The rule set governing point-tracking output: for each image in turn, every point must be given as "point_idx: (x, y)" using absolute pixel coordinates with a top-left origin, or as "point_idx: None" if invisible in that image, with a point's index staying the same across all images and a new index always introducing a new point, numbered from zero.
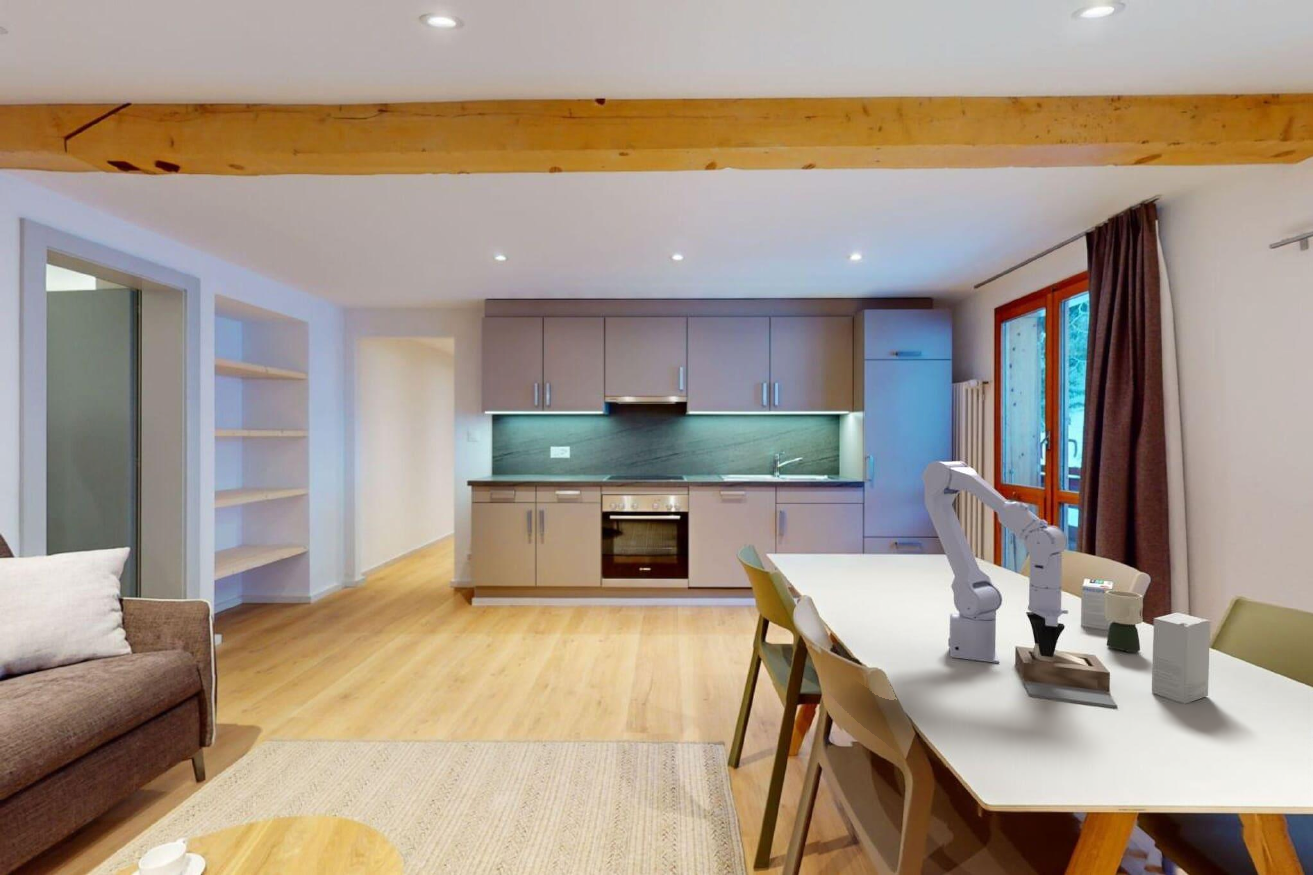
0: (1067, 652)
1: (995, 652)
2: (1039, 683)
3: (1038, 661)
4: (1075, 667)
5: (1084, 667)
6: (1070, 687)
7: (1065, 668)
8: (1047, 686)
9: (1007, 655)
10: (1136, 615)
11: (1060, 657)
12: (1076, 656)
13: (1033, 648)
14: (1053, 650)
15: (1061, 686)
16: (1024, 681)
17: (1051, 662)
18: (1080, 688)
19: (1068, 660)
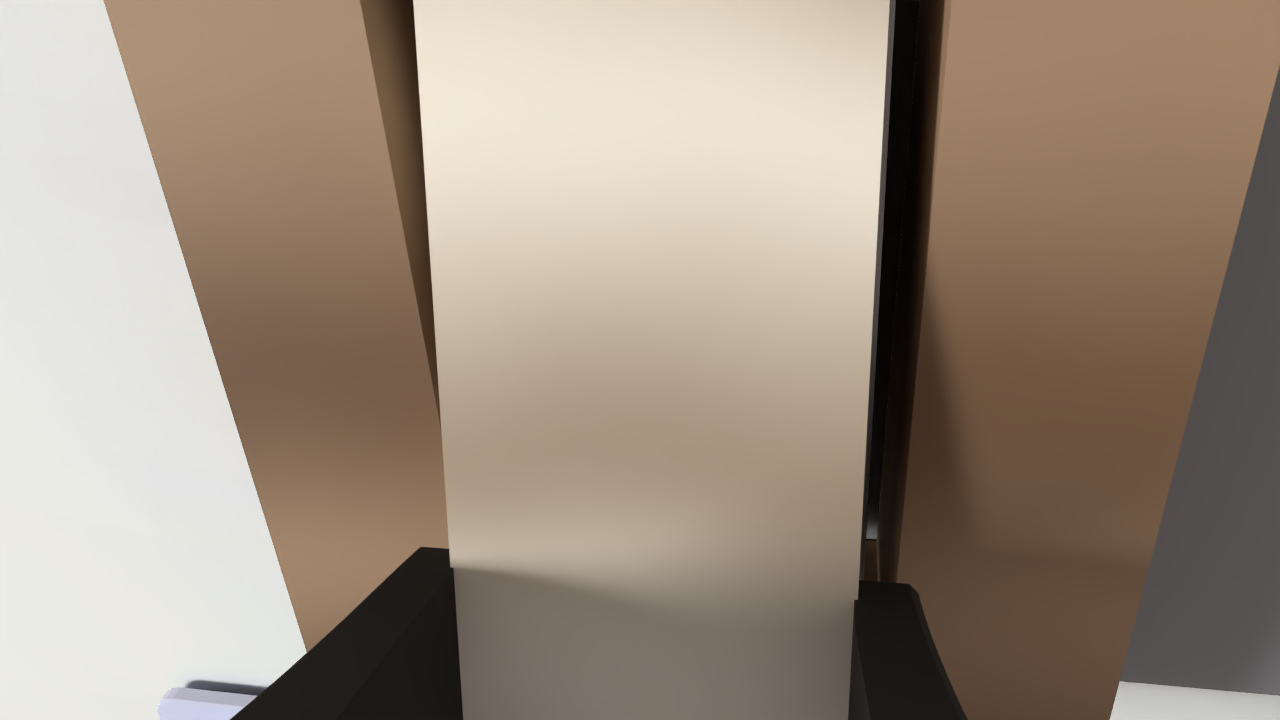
0: (192, 183)
1: (233, 711)
2: (1170, 554)
3: (962, 688)
4: (1144, 247)
5: (1104, 75)
6: (1259, 234)
7: (1177, 399)
8: (1274, 497)
9: (173, 596)
10: None
11: (863, 465)
12: (361, 75)
13: (305, 601)
14: (947, 679)
15: (1234, 339)
16: (1132, 674)
17: (951, 546)
18: (1274, 98)
19: (870, 327)
